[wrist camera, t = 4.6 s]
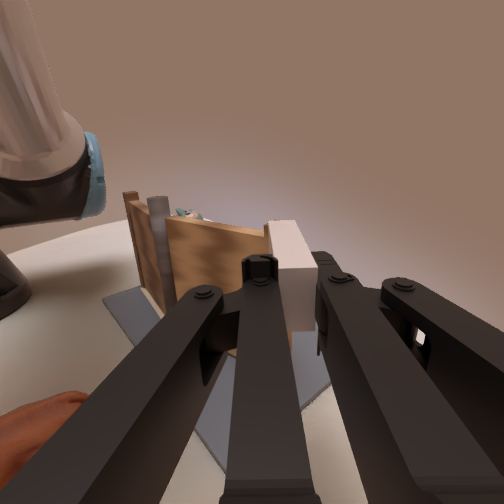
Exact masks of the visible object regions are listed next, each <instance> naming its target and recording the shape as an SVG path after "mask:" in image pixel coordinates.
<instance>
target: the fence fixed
mask: <svg viewBox="0 0 504 504" xmlns="http://www.w3.org/2000/svg"><path fill="white" fill-rule="evenodd" d="M123 198H124V202H125V207H126V212H127V217H128V222H129V227H130V232H131V237H132V242H133V247H134V252H135V257H136V262H137V267H138V272H139V277H140V282H141V285H142V287H143V288H145V289H146V290H147V291H148V293H149V294H150V295H151V297H152V298H153V300H154V301H155V302H156V304H157V305H158V307H159V308H160V309H161V311H162V312H163V314H164V315H165V314H166V313H167V312H168V311H169V310H170V309H171V308H172V307H173V306H174V305H175V304H176V303H177V295H176V288H175V282H174V275H173V269H172V262H171V256H170V249H169V243H168V236H167V229H166V223H165V218H166V217H170V209H169V202H168V197H167V196H156V197H150V198H147V204H148V206H147V205H145V204H144V203H142V202H140V201H139V196H138V192H136V191H130V192H123Z"/></svg>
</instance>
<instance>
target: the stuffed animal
mask: <svg viewBox="0 0 504 504" xmlns="http://www.w3.org/2000/svg"><path fill="white" fill-rule="evenodd" d="M176 212H177V214H178V215H176V216H182V217H187V218H193V219H199V220H203V218H202V216H201V215H200V214H199V213H197V212H195V211H192V210H189V211H184V210H182V209H180V208H177V209H176Z"/></svg>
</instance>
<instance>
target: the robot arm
mask: <svg viewBox="0 0 504 504" xmlns="http://www.w3.org/2000/svg"><path fill="white" fill-rule="evenodd" d="M105 205H106V186H105V180H104V169H103V161H102V156H101V151H100V147H99V143H98V140H97V138H96V136H95V135H94V134H92V133H89V132H86V131H82V129H81V127H80V125H79V123H78V122H77V121H76V120H75V119H74V118H73V117H72V116H71V115H69V114H68V113H66V112H65V111H63V110H62V108H61V105H60V102H59V99H58V96H57V92H56V89H55V86H54V82H53V79H52V77H51V73H50V70H49V66H48V63H47V60H46V57H45V54H44V51H43V47H42V44H41V41H40V38H39V35H38V31H37V28H36V25H35V22H34V19H33V15H32V12H31V9H30V6H29V3H28V0H0V229H6V228H13V227H21V226H29V225H35V224H44V223H52V222H61V221H69V220H81V219H82V218H86V217H92V216H97V215H99V214H101V213H102V212H103V211H104V209H105ZM268 233H269V254H255V255H250V256H248V257H246V258H244V259H243V260H242V261H241V265H242V282H243V283H242V288H240V289H239V290H237V291H234V292H231V293H227V294H223V291H222V289H221V288H220V287H218V286H214V285H206V284H204V285H199V286H196V287H194V288H191V289H190V290H188V291H187V292H186V293H185V294H184V295H183V296H182V297H181V298H180V299H179V300H178V302H177V303H176V304H175V305H174V306H173V307H172V308H171V309H170V310H169V311H168V312H167V313H166V314H165V315H164V317H163V318H162V319H161V320H160V321H159V322H158V323H157V324H156V325H155V326H154V327H153V328H152V329H151V330H150V331H149V333H148V334H147V335H146V336H145V337H144V338H143V339H142V340H141V341H140V342H139V343H138V344H137V345H136V346H135V348H134V349H133V350H132V351H131V352H130V353H129V354H128V355H127V356H126V357H125V358H124V359H123V360H122V361H121V363H120V364H119V365H118V366H117V367H116V368H115V369H114V370H113V371H112V372H111V373H110V374H109V375H108V376H107V378H106V379H105V380H104V381H103V382H102V383H101V384H100V385H99V386H98V387H97V388H96V389H95V390H94V391H93V392H92V394H91V395H90V396H89V397H88V398H87V399H86V400H85V401H84V402H83V403H82V404H81V405H80V406H79V407H78V409H77V410H76V411H75V412H74V413H73V414H72V415H71V416H70V417H69V418H68V419H67V420H66V421H65V422H64V424H63V425H62V426H61V427H60V428H59V429H58V430H57V431H56V432H55V433H54V434H53V435H52V436H51V437H50V438H49V440H48V441H47V442H46V443H45V444H44V445H43V446H42V447H41V448H40V449H39V450H38V451H37V452H36V453H35V455H34V456H33V457H32V458H31V459H30V460H29V461H28V462H27V463H26V464H25V465H24V466H23V467H22V468H21V470H20V471H19V472H18V473H17V474H16V475H15V476H14V477H13V478H12V479H11V480H10V481H9V482H8V483H7V485H6V486H5V487H4V488H3V489H2V490H1V491H0V504H159V502H160V500H161V498H162V496H163V494H164V492H165V490H166V488H167V485H168V483H169V481H170V479H171V477H172V475H173V473H174V470H175V468H176V466H177V464H178V462H179V460H180V458H181V456H182V453H183V451H184V449H185V447H186V445H187V443H188V441H189V438H190V436H191V434H192V432H193V430H194V428H195V426H196V424H197V421H198V419H199V417H200V415H201V413H202V411H203V409H204V406H205V404H206V402H207V400H208V398H209V396H210V394H211V392H212V389H213V387H214V385H215V383H216V381H217V379H218V377H219V374H220V372H221V370H222V368H223V366H224V364H225V362H226V359H227V357H228V351H229V350H232V349H236V348H237V352H236V364H235V375H234V387H233V398H232V410H231V421H230V433H229V445H228V456H227V468H226V479H225V488H224V493H223V495H222V496H221V497H220V500H219V504H322V503H321V500H320V497H319V495H317V494H316V493H315V490H314V486H313V481H312V476H311V470H310V464H309V458H308V452H307V446H306V440H305V434H304V428H303V423H302V417H301V411H300V405H299V399H298V393H297V387H296V381H295V375H294V370H293V364H292V358H291V352H290V346H289V340H288V334H287V332H307V331H315V323H316V322H317V325H318V339H317V356H320V351H321V352H322V355H323V358H324V361H325V364H326V368H327V371H328V374H329V377H330V381H331V384H332V387H333V390H334V394H335V397H336V400H337V403H338V406H339V410H340V413H341V416H342V419H343V423H344V426H345V429H346V432H347V436H348V439H349V442H350V445H351V449H352V452H353V455H354V458H355V461H356V465H357V468H358V471H359V474H360V478H361V481H362V484H363V487H364V491H365V494H366V497H367V500H368V503H369V504H504V332H502V331H500V330H499V329H497V328H495V327H493V326H491V325H490V324H488V323H487V322H485V321H483V320H481V319H480V318H478V317H476V316H474V315H472V314H471V313H469V312H467V311H466V310H464V309H463V308H461V307H459V306H457V305H456V304H454V303H452V302H450V301H449V300H447V299H445V298H444V297H442V296H440V295H439V294H437V293H435V292H433V291H431V290H430V289H428V288H426V287H425V286H423V285H421V284H420V283H417V282H415V281H413V280H409V279H407V278H400V277H396V278H389V279H385V280H384V281H383V282H382V287H381V289H374V288H367V287H363V286H362V284H361V283H360V282H359V280H358V279H357V278H356V277H355V276H353V275H351V274H349V273H344V272H342V270H341V269H340V267H339V266H338V265H337V263H336V261H335V260H334V258H333V257H332V255H330V254H329V253H327V252H325V251H319V252H310V250H309V248H308V246H307V244H306V242H305V240H304V238H303V236H302V234H301V232H300V230H299V228H298V226H297V224H296V222H295V220H282V221H268ZM30 294H31V290H30V287H29V285H28V282H27V279H26V278H25V276H24V275H23V274H22V273H21V272H20V270H19V269H18V268H17V267H16V266H15V265H14V264H13V263H12V262H11V261H10V259H9V258H8V257H7V256H6V255H5V254H4V253H3V252H2V251H1V250H0V318H2V317H4V316H6V315H8V314H10V313H11V312H13V311H14V310H16V309H17V308H19V307H20V306H21V305H22V304H24V303H25V302H26V301H27V299H28V298H29V297H30ZM418 329H419V330H421V331H422V332H423V333H424V334H425V340H424V344H423V345H422V344H420V343H419V342H417V341H416V336H417V331H418Z"/></svg>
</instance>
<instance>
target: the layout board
mask: <svg viewBox="0 0 504 504" xmlns="http://www.w3.org/2000/svg"><path fill="white" fill-rule="evenodd" d="M102 300H103V302H104V304H105V305H106V307H107V308H108V309H109V311H110V312H111V314H112V315H113V316H114V318H115V319H116V321H117V322H118V323H119V325H120V326H121V328H122V329H123V330H124V332H125V333H126V335H127V336H128V338H129V339H130V340H131V342H132V343H133V345H134V346H136V345H137V344H138V343H139V342H140V341H141V340H142V339H143V338H144V337H145V336H146V335H147V334H148V333H149V331H150V330H151V329H152V328H153V327H154V326H155V325H156V324H157V323H158V322H159V321H160V320H161V319H162V318H163V317H164V314H163V312H162V311H161V309H160V308H159V307H158V305H157V304H156V302H155V301H154V300H153V298H152V297H151V295H150V294H149V293H148V291H147V290H146V289H145V288H143V287H142V285H141V286H138V287H135V288H132V289H129V290H126V291H123V292H120V293H117V294H114V295H111V296H108V297H105V298H102ZM317 339H318V325H317V322H316V323H315V331H307V332H292V353H291V358H292V364H293V370H294V375H295V381H296V387H297V393H298V399H299V405H300V411H302V410H303V409H304V408H305V407H306V406H307V405H308V404H309V403H310V402H312V401H313V400H314V399H315V398H316V397H317V396H318V395H319V394H320V393H322V392H323V391H324V390H325V389H326V388H327V387H328V386H329V385H330V384H331V381H330V377H329V374H328V371H327V368H326V364H325V361H324V358H323V355H322V352H321V351H320V356H317ZM235 364H236V356H234V355H232V354H230V353H228V357H227V359H226V362H225V364H224V366H223V368H222V370H221V372H220V374H219V377H218V379H217V381H216V383H215V385H214V387H213V389H212V392H211V394H210V396H209V398H208V400H207V402H206V404H205V406H204V409H203V411H202V413H201V415H200V417H199V419H198V421H197V424H196V426H195V428H194V430H195V432H196V433H197V434H198V436H199V437H200V439H201V440H202V441H203V443H204V444H205V446H206V447H207V448H208V450H209V451H210V453H211V454H212V456H213V457H214V458H215V460H216V461H217V463H218V464H219V465H220V467H221V468H222V470H223V471H224V472H225V474H226V468H227V456H228V445H229V433H230V421H231V410H232V398H233V387H234V375H235Z"/></svg>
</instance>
